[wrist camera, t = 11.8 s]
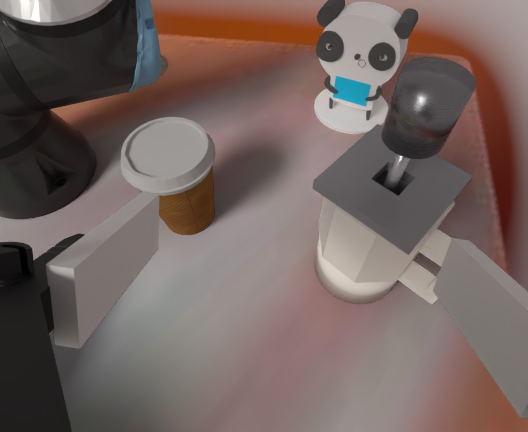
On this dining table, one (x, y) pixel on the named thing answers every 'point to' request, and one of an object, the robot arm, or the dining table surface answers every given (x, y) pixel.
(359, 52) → the panda figurine
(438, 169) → the press pot
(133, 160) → the disposable coffee cup
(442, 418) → the dining table surface
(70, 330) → the robot arm
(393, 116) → the plunger
